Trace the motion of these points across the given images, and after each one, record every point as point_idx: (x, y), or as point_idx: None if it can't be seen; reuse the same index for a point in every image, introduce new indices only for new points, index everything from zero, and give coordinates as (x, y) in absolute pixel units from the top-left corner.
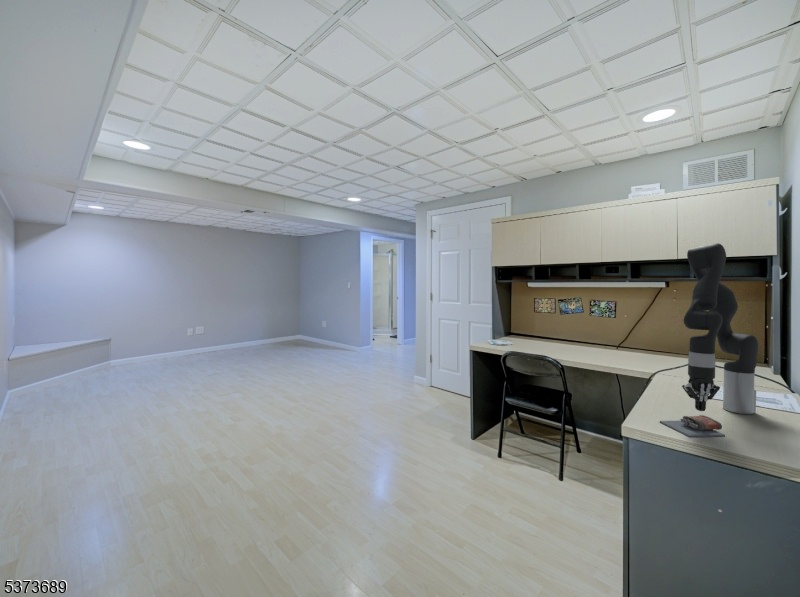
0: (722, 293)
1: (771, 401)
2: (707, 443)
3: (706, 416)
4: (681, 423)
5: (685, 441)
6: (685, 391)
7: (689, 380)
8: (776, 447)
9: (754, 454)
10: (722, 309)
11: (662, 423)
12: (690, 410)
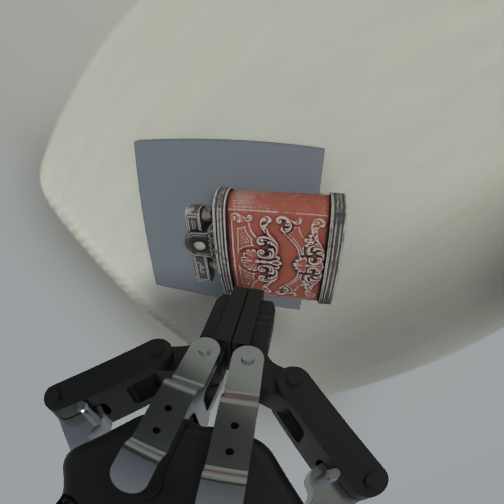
0: None
1: None
2: (183, 318)
3: (337, 249)
4: (217, 181)
5: (130, 294)
6: (91, 368)
7: (67, 471)
8: (366, 368)
9: None
10: None
11: (139, 157)
12: (482, 29)
